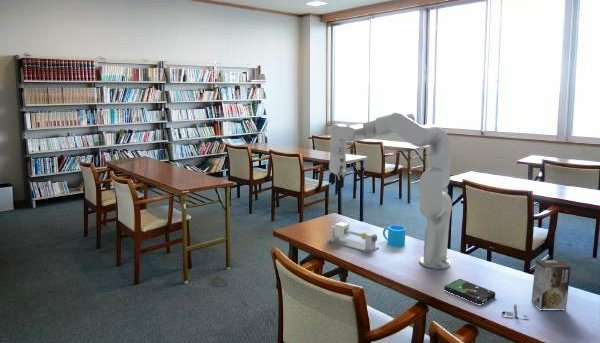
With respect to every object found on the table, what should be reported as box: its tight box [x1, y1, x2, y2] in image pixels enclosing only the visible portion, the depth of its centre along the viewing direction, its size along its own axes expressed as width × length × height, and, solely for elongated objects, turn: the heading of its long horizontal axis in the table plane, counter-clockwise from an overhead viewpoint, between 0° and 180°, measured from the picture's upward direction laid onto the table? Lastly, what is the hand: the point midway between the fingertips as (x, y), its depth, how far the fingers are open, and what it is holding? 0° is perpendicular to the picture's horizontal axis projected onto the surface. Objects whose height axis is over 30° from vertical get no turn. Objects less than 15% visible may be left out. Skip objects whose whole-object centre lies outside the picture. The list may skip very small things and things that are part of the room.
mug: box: [382, 225, 407, 248], centre depth 220 cm, size 12×8×8 cm
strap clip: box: [503, 304, 518, 318], centre depth 151 cm, size 8×3×4 cm, turn 73°
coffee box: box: [530, 259, 572, 310], centre depth 157 cm, size 9×6×16 cm
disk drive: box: [443, 278, 496, 305], centre depth 167 cm, size 10×3×15 cm
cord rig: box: [327, 225, 380, 254], centre depth 217 cm, size 24×8×8 cm, turn 50°
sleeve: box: [334, 221, 350, 238], centre depth 221 cm, size 5×5×6 cm
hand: (335, 185), depth 219 cm, fingers open, 9 cm apart
